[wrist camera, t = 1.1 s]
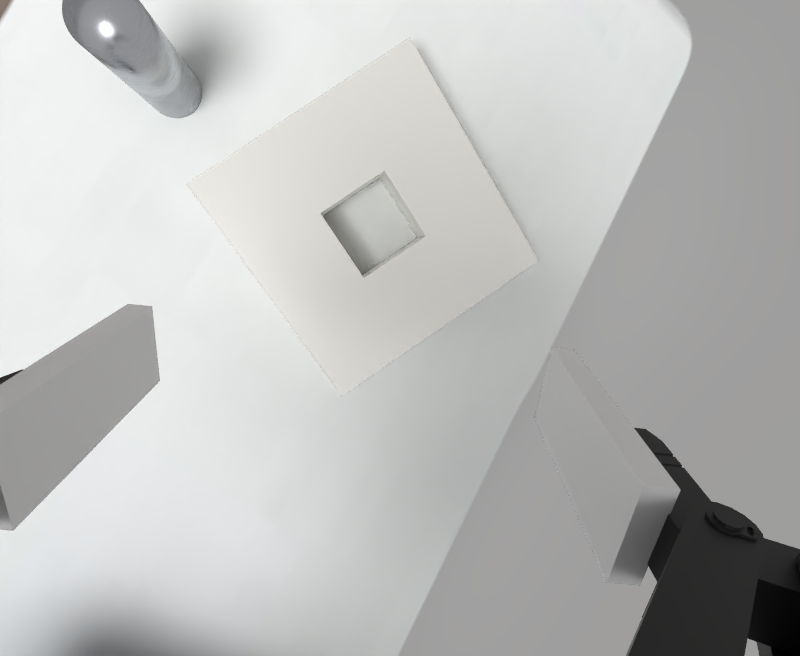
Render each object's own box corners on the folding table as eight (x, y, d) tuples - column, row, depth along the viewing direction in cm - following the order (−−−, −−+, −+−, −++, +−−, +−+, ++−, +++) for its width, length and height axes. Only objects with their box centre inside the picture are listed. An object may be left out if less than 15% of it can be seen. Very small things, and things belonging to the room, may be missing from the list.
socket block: (340, 385, 42) (341, 396, 39) (198, 190, 38) (186, 184, 35) (522, 260, 43) (539, 260, 40) (402, 56, 39) (409, 37, 36)
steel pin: (169, 128, 37) (96, 69, 26) (135, 81, 37) (44, -1, 25) (211, 100, 38) (159, 29, 26) (179, 53, 37) (109, -42, 25)
